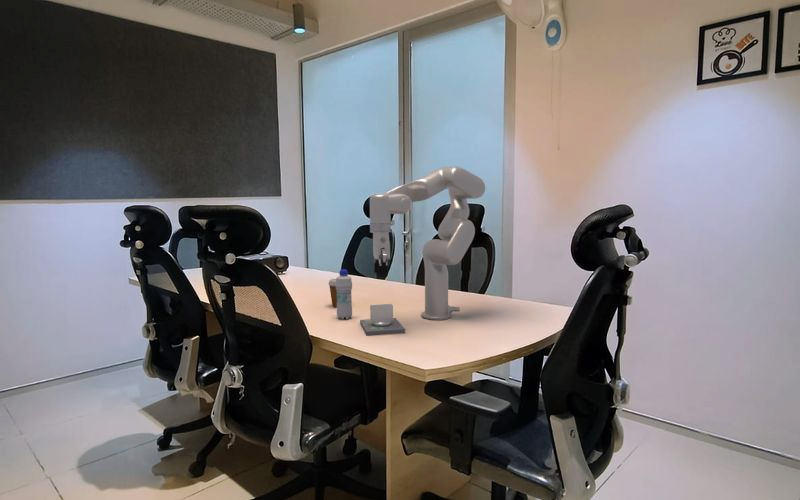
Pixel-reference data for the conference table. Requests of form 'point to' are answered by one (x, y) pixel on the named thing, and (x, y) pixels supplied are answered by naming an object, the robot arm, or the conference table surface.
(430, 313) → the robot arm
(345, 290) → the bottle
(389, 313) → the knob
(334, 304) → the disposable coffee cup
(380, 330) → the dial board
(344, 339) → the conference table surface
